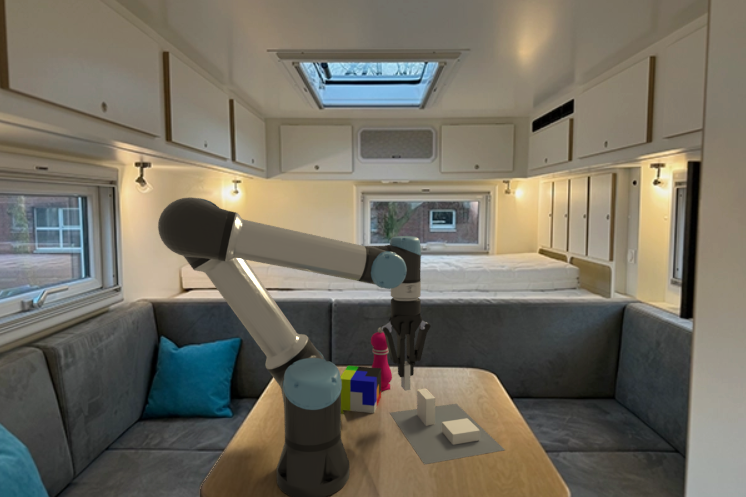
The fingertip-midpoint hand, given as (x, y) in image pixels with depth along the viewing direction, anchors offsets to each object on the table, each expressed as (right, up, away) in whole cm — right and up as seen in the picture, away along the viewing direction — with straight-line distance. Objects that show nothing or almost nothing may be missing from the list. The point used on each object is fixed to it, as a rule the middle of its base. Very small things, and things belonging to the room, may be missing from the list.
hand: (405, 388), depth 107 cm
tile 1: (+5, -9, +2) cm, 11 cm away
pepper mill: (-6, -9, +23) cm, 25 cm away
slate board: (+9, -11, -3) cm, 14 cm away
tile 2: (+9, -8, -7) cm, 14 cm away
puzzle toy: (-12, -10, +12) cm, 19 cm away
